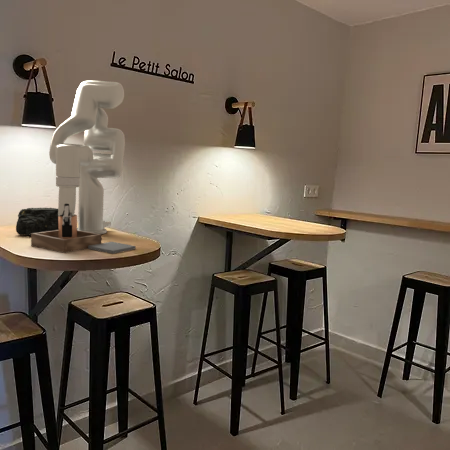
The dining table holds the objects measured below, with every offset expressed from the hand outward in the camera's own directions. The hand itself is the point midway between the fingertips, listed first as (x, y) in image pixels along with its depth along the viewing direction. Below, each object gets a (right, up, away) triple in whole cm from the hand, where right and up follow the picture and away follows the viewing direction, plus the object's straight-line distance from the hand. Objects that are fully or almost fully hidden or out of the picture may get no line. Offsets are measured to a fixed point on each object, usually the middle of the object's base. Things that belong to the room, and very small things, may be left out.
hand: (67, 234), depth 153 cm
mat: (+15, -5, -1) cm, 16 cm away
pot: (0, -1, 0) cm, 1 cm away
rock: (-16, 0, +19) cm, 25 cm away
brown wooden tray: (0, -4, 0) cm, 4 cm away
